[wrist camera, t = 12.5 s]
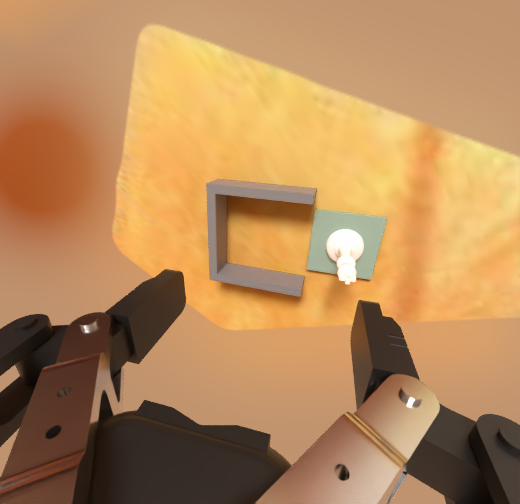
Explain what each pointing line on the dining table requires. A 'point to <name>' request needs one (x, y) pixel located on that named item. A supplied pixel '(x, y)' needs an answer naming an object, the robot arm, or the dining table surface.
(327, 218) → the mat
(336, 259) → the chess piece
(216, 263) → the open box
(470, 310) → the dining table surface
